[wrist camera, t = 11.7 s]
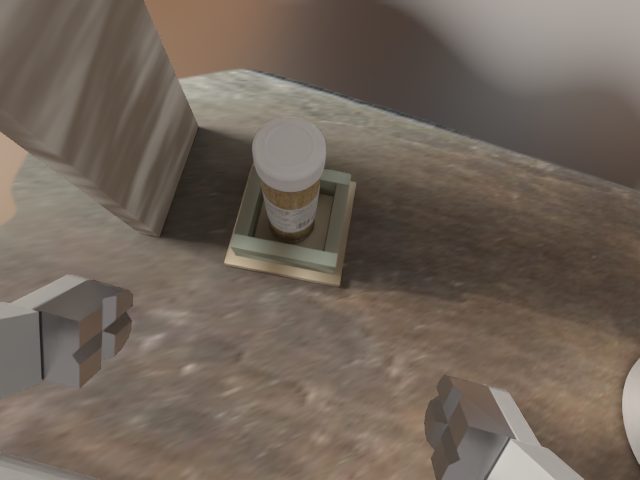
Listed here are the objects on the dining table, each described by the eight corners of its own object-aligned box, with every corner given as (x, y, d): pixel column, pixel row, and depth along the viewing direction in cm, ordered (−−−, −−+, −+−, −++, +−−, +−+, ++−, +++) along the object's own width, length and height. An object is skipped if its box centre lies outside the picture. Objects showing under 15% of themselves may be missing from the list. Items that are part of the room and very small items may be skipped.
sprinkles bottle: (301, 194, 34) (305, 102, 21) (322, 232, 33) (341, 159, 20) (260, 213, 33) (238, 129, 20) (280, 253, 32) (271, 190, 19)
